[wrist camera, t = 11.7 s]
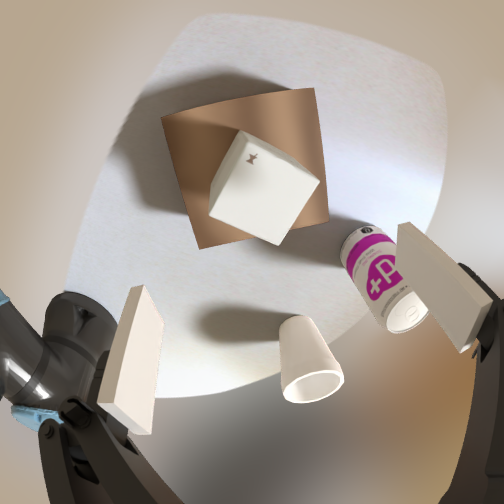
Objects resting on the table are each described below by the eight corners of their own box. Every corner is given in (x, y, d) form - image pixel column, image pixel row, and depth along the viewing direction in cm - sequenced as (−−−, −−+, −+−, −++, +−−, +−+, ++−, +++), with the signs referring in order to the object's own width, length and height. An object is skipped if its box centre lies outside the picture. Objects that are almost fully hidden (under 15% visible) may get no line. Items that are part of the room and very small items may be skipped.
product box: (208, 184, 26) (204, 215, 19) (239, 127, 23) (246, 138, 17) (265, 211, 28) (278, 248, 21) (297, 158, 25) (322, 181, 19)
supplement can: (329, 246, 40) (372, 316, 27) (372, 213, 38) (431, 271, 25) (352, 278, 44) (392, 345, 31) (391, 248, 42) (442, 307, 29)
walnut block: (203, 218, 36) (199, 249, 29) (174, 113, 29) (160, 117, 22) (308, 196, 36) (329, 221, 29) (292, 89, 28) (313, 87, 22)
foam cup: (323, 336, 51) (344, 391, 39) (277, 350, 51) (289, 408, 40) (317, 301, 46) (342, 362, 35) (264, 317, 46) (277, 382, 35)
